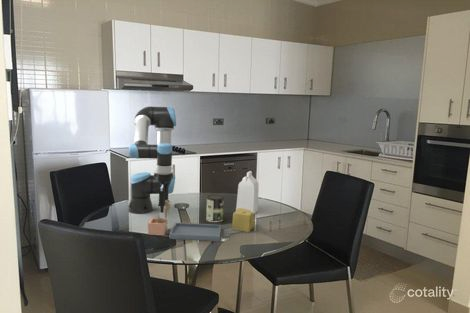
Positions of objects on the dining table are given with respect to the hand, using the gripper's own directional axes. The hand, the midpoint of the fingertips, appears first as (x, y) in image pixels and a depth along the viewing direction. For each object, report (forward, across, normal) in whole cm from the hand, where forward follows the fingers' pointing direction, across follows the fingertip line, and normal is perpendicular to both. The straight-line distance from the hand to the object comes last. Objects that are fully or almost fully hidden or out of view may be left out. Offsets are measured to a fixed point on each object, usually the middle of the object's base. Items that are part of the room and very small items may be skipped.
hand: (163, 215), depth 202 cm
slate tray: (+9, 0, -18) cm, 20 cm away
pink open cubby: (+9, 0, +3) cm, 9 cm away
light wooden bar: (+8, 0, +1) cm, 8 cm away
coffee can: (+9, +25, -26) cm, 37 cm away
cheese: (+9, +12, -43) cm, 45 cm away
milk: (+9, +45, -46) cm, 65 cm away
